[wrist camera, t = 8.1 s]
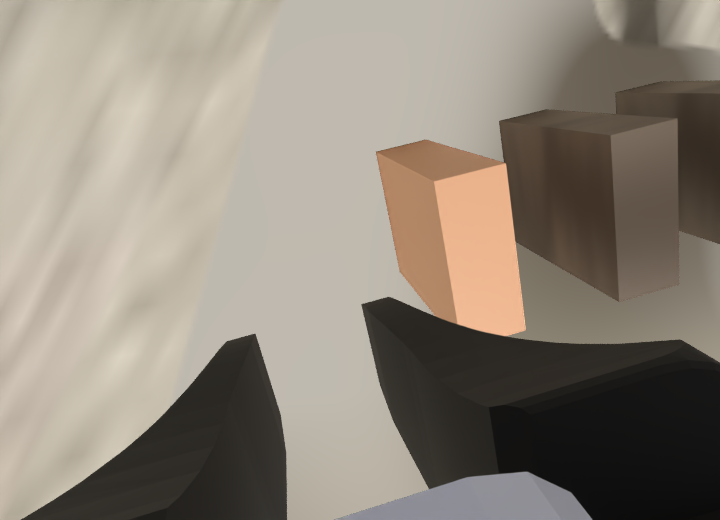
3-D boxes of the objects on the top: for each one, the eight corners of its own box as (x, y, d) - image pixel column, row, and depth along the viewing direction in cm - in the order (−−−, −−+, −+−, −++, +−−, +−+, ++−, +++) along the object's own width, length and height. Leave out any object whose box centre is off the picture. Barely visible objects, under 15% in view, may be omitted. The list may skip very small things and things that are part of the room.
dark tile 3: (662, 200, 23) (822, 243, 17) (621, 211, 23) (765, 259, 17) (660, 81, 22) (836, 78, 15) (615, 92, 21) (773, 93, 15)
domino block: (557, 228, 23) (678, 284, 16) (513, 240, 23) (619, 301, 16) (546, 109, 21) (677, 118, 15) (499, 121, 21) (610, 135, 14)
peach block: (445, 259, 22) (526, 330, 16) (399, 271, 22) (461, 348, 16) (425, 139, 21) (506, 163, 14) (376, 151, 20) (433, 181, 14)
